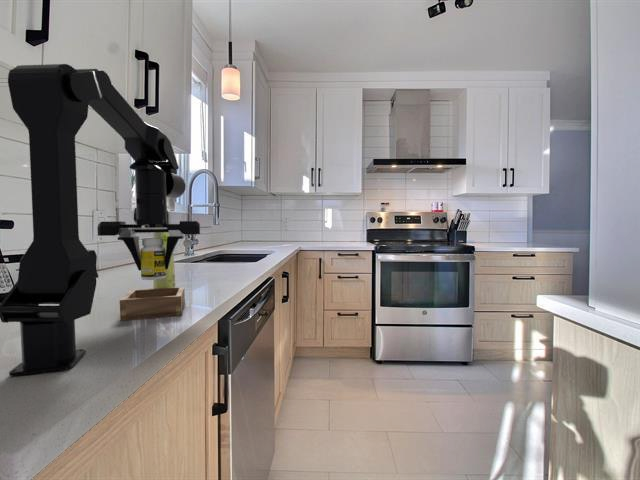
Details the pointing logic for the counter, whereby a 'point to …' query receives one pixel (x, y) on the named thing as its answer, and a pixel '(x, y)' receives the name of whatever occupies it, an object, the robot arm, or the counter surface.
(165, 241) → the tube
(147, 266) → the supplement bottle
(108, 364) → the counter surface
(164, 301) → the walnut box
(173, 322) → the counter surface
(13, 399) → the counter surface
